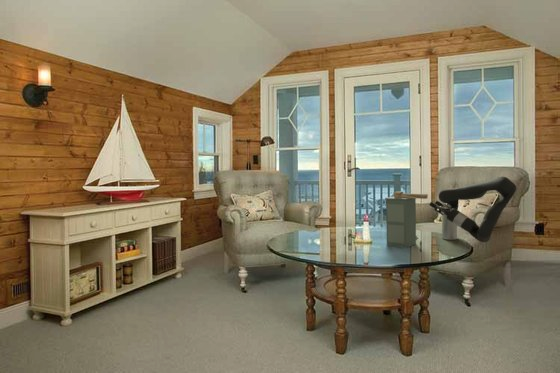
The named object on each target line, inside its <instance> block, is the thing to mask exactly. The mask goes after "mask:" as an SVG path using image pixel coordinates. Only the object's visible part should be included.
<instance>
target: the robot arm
mask: <svg viewBox="0 0 560 373" xmlns="http://www.w3.org/2000/svg"><path fill="white" fill-rule="evenodd" d="M490 191H496V192H497V193H498V194H499V195H500V198H499V200H498V201H497V202H496V203H495V204H492V205H491V206H490V207H489V208H488V209H487V211H486V212H485V215H484V217H483V219H482V221H481V223H480V225H478V224H477V223H476V221H474V220H473V219H472V218H469V216H467V215H466V214H465V213H463V212H461V211H459V202H460V201H464V200H465V201H468V200H469V201H470V200H476V199H481V198H482V197H484V196H485V195H486V193H487V192H490ZM516 191H517V185H516V184H515V183H514V182H513V181H512V180H511V179H509V178H508V177H506V176H499V177H495V178H493V179H490V180H486V181H482V182H475V183H471V184H467V185H464V186H463V185H462V186H460V187H457V188H446V189H442V190H440V192H439V193H438V199H439V200H435V202H432V201H431V202H430V203H429V206H430V207H432V208H433V210H434V211H435V212H437V213H438V214H440V215H441V238H442V240H450V241H454V240H455V241H456V240H457V239H458V227H459V228H461V229H463V231H466V232H467V233H469V234H470V236H472V237H473V238H474V239H475V240H477V241H478V242H481V243H487V242H489V241H490V240H491V236H492V233H493V231H494V228H495V227H496V226H497V223H498V221H499V219H500V217H501V215H502V213H503V211H504V210H505V209H506V207H507V205H508V204H509V202H510V201H511V199H512V198H513V197H514V195H515V193H516Z"/></svg>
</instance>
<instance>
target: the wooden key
mask: <svg viewBox="0 0 560 373" xmlns="http://www.w3.org/2000/svg"><path fill="white" fill-rule="evenodd" d="M428 196H429V195H428V194H426V193H404V191H394V192H393V197H394V198H417V199H418V200H419V199H421V200H425V199H426V200H427V199H429V198H428Z"/></svg>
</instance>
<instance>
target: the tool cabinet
mask: <svg viewBox="0 0 560 373" xmlns="http://www.w3.org/2000/svg"><path fill="white" fill-rule="evenodd" d="M417 199H418V198H394V196H388V197H385V198H384V200H385V203H386V206H385V209H386V210H385V211H386V214H385V215H386V218H385V219H386V246H389V247H398V248H405V249H407V248H409V247H412V246H414V245H417V239H416V236H417V227H416V226H417V224H416V223H417V214H416V213H417V210H416V208H417V206H416V204H417V202H416V200H417Z"/></svg>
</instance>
